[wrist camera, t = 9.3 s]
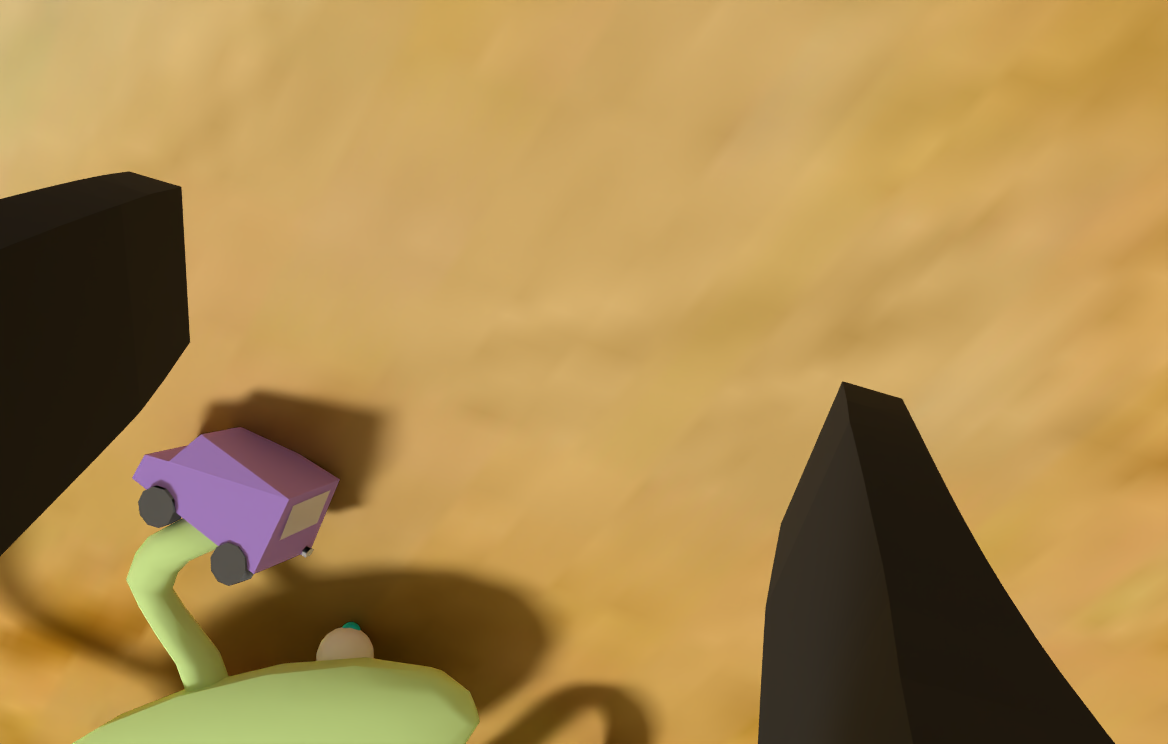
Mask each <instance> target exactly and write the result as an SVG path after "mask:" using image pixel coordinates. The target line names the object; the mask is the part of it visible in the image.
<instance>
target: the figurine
mask: <svg viewBox="0 0 1168 744" xmlns="http://www.w3.org/2000/svg"><path fill="white" fill-rule="evenodd" d="M132 478H133V479H134V480H135V481H137V482H138V483H139V484H140V485H142V486H143V487H144V488H145V489H147V490H145V491H143V493H142V495H141V497H140V499H139V502H138V504H139V511H140V515H141V517H142V518H143V519H144V521H145V522H146V523H147V524H148V525H150V526H154V527H157V528H160V527H163V526H166V525H169V524H171V525H169V526H167V527H166V528H164V529H162V530H160V531H158V532H156V533H155V534H153V535H151V536H149V537H148V538H147V539H146V540H145V542H144V543H143V544H142V545H141V547H140V548H139V549H138V550H137V552H136V553H135V556H134V559H133V562H132V565H131V567H130V570H129V573H128V576H127V579H126V580H127V582H128V584H129V587H130V589H131V591H132V593H133V595H134V597H135V599H136V602H137V604H138V606H139V608H140V609H141V611H142V613H143V614H144V616H145V618H146V619H147V621H148V623H149V624H150V626H151V628H152V629H153V631H154V633H155V634H156V636H157V637H158V639H159V640H160V642H161V643H162V645H163V646H164V648H165V649H166V650H167V652H168V653H169V655H170V656H171V658H172V659H173V661H174V662H175V664H176V666H177V669H178V671H179V674H180V677H181V680H182V682H183V685H184V688H185V689H184V690H181V691H179V692H176V693H174V694H171V695H169V696H166V697H163V698H161V699H158V700H156V701H153V702H151V703H148V704H146V705H143V706H141V707H138V708H136V709H133V710H131V711H128V712H126V713H123V714H121V715H119V716H117V717H116V718H114V719H112V720H111V721H109V722H107V723H106V724H104V725H102V726H100V727H99V728H97V729H95V730H94V731H92V732H90V733H89V734H87V735H86V736H84V737H82V738H81V739H79V740H77V741H76V742H74V743H72V744H466V742H467V741H468V739H469V738H470V736H471V734H472V733H473V731H474V730H475V728H476V727H477V725H478V724H479V722H480V721H479V716H478V711H477V708H476V706H475V703H474V701H473V698H472V696H471V693H470V691H468V690H467V689H466V688H464V687H463V686H462V685H461V684H459V683H458V682H457V681H456V680H454V679H453V678H452V677H450V676H449V675H448V674H446V673H445V672H444V671H442V670H439V669H436V668H433V667H428V666H421V665H414V664H407V663H401V662H394V661H387V660H380V659H374V648H373V646H372V643H371V641H370V639H369V637H368V636H367V635H366V634H365V633H364V632H362V631H361V630H360V627H359V625H358V624H356V623H355V622H348V623H346V624H344V625H343V626H342V627H341V628H336V629H335V630H333V631H331V632H330V633H328V634H327V635H326V636H325V637H324V639H323V640H322V641H321V643H320V646H319V648H318V651H317V653H316V661H310V662H297V663H284V664H279V665H275V666H271V667H267V668H262V669H258V670H254V671H250V672H246V673H241V674H237V675H233V676H228V673H227V670H226V668H225V665H224V662H223V660H222V657H221V654H220V651H219V650H218V649H217V648H216V646H215V645H214V644H213V642H212V641H211V640H210V638H209V637H208V636H207V635H206V633H205V632H204V631H203V629H202V628H201V627H200V625H199V624H198V623H197V622H196V620H195V619H194V618H193V616H192V615H191V614H190V613H189V611H188V610H187V609H186V608H185V606H184V605H183V603H182V602H181V600H180V599H179V597H178V596H177V594H176V592H175V591H174V589H173V585H174V582H175V579H176V576H177V574H178V572H179V571H180V570H181V569H182V568H183V567H184V566H185V565H186V564H187V563H188V561H190V560H192V559H195V558H197V557H199V556H201V555H203V554H206V553H208V552H210V551H212V550H214V549H215V551H214V552H213V554H212V556H211V571H212V573H213V574H214V576H215V577H216V579H217V581H218V582H220V583H223V584H225V585H228V586H230V585H233V584H237V583H240V582H243V581H245V580H248V579H251V578H252V576H253V574H255V573H257V572H260V571H262V570H265V569H267V568H269V567H272V566H274V565H277V564H279V563H281V562H284V561H286V560H288V559H291V558H293V557H296V556H298V555H302V556H304V557H308V556H310V555H311V553H312V552H313V550H314V549H312V548H311V547H312V545H313V543H314V540H315V538H316V535H317V533H318V531H319V528H320V526H321V523H322V521H323V519H324V516H325V514H326V511H327V509H328V507H329V504H330V502H331V499H332V497H333V495H334V492H335V490H336V487H337V485H338V483H339V480H340V479H338V478H337V477H335V476H334V475H332V474H330V473H329V472H327V471H326V470H324V469H322V468H321V467H319V466H318V465H316V464H314V463H313V462H311V461H310V460H308V459H306V458H305V457H303V456H302V455H300V454H298V453H296V452H294V451H292V450H290V449H288V448H285V447H283V446H281V445H279V444H277V443H275V442H273V441H270V440H268V439H266V438H264V437H262V436H260V435H257V434H255V433H253V432H251V431H249V430H247V429H245V428H242V427H237V428H230V429H227V430H222V431H216V432H211V433H206V434H201V435H200V436H198V437H197V438H196V439H195V440H194V441H192V442H191V443H190V444H189V445H188V446H183V447H178V448H174V449H169V450H164V451H160V452H155V453H150V454H146V455H144V457H143V459H142V461H141V463H140V465H139V466H138V468H137V470H136V472H135V474H134V476H133V477H132ZM181 517H182V518H183V519H181ZM180 519H181V520H180ZM178 520H179V521H178ZM176 521H177V522H176ZM174 522H175V523H174ZM172 523H173V524H172Z"/></svg>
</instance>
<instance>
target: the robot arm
mask: <svg viewBox="0 0 1168 744" xmlns="http://www.w3.org/2000/svg"><path fill="white" fill-rule="evenodd" d="M189 343H190V334H189V316H188V298H187V280H186V262H185V244H184V226H183V208H182V190H181V187H180V186H176V185H173V184H170V183H166V182H163V181H159V180H156V179H153V178H149V177H146V176H142V175H139V174H136V173H132V172H122V173H115V174H108V175H102V176H97V177H92V178H87V179H82V180H77V181H73V182H68V183H64V184H60V185H55V186H51V187H47V188H43V189H39V190H35V191H31V192H27V193H23V194H19V195H15V196H11V197H7V198H3V199H0V556H1V555H2V554H3V553H4V552H5V551H6V550H7V549H8V548H9V547H10V546H11V545H12V544H13V543H14V541H15V540H16V539H17V538H18V537H19V536H20V535H21V534H22V533H23V532H24V531H25V530H26V529H27V528H28V527H29V526H30V525H31V524H32V523H33V522H34V521H35V520H36V519H37V518H38V517H39V516H40V515H41V514H42V513H43V512H44V511H45V510H46V509H47V508H48V507H49V506H50V505H51V504H52V503H53V502H54V501H55V500H56V499H57V498H58V497H59V496H60V495H61V494H62V493H63V492H64V490H65V489H66V488H67V487H68V486H69V485H70V484H71V483H72V482H73V481H74V480H75V479H76V478H77V477H78V476H79V475H80V474H81V473H82V472H83V471H84V470H85V469H86V468H87V467H88V466H89V465H90V464H91V463H92V462H93V461H94V460H95V459H96V458H97V457H98V456H99V455H100V454H101V453H102V452H103V450H104V449H105V448H106V447H107V446H108V445H109V444H110V443H111V442H112V441H113V440H114V439H115V438H116V437H117V436H118V435H119V434H120V433H121V432H122V431H123V430H124V429H125V428H126V426H127V425H128V424H129V423H130V422H131V421H132V420H133V419H134V418H135V417H136V416H137V415H138V414H139V412H140V411H141V410H142V409H143V407H144V406H145V405H146V403H147V402H148V401H149V399H150V398H151V397H152V395H153V394H154V393H155V391H156V390H157V389H158V387H159V386H160V385H161V383H162V382H163V381H164V379H165V378H166V376H167V375H168V373H169V372H170V371H171V369H172V368H173V366H174V365H175V363H176V362H177V360H178V359H179V357H180V356H181V354H182V353H183V352H184V350H185V349H186V347H187V346H188V344H189ZM758 744H1115V743H1114V742H1113V740H1112V739H1111V738H1110V737H1109V735H1108V734H1107V733H1106V732H1105V730H1104V729H1103V728H1102V726H1101V725H1100V724H1099V722H1098V721H1097V720H1096V718H1095V717H1094V716H1093V715H1092V713H1091V712H1090V711H1089V709H1088V708H1087V707H1086V705H1085V704H1084V703H1083V701H1082V700H1081V699H1080V697H1079V696H1078V695H1077V694H1076V692H1075V691H1074V690H1073V688H1072V687H1071V686H1070V684H1069V683H1068V682H1067V680H1066V679H1065V678H1064V676H1063V675H1062V674H1061V672H1060V671H1059V670H1058V668H1057V667H1056V665H1055V664H1054V663H1053V661H1052V660H1051V658H1050V657H1049V656H1048V654H1047V653H1046V651H1045V650H1044V648H1043V647H1042V646H1041V644H1040V643H1039V641H1038V640H1037V638H1036V637H1035V635H1034V634H1033V632H1032V631H1031V629H1030V628H1029V626H1028V625H1027V623H1026V621H1025V620H1024V618H1023V617H1022V615H1021V614H1020V612H1019V611H1018V609H1017V608H1016V606H1015V604H1014V603H1013V601H1012V600H1011V598H1010V597H1009V595H1008V594H1007V592H1006V591H1005V589H1004V587H1003V586H1002V584H1001V583H1000V581H999V579H998V578H997V576H996V574H995V573H994V571H993V569H992V568H991V566H990V564H989V563H988V561H987V559H986V558H985V556H984V554H983V553H982V551H981V549H980V547H979V546H978V544H977V542H976V540H975V539H974V537H973V535H972V533H971V531H970V530H969V528H968V526H967V524H966V522H965V521H964V519H963V517H962V515H961V513H960V512H959V510H958V508H957V506H956V504H955V502H954V500H953V498H952V496H951V495H950V493H949V491H948V489H947V487H946V485H945V483H944V481H943V479H942V477H941V475H940V473H939V471H938V469H937V467H936V465H935V463H934V461H933V459H932V457H931V455H930V453H929V451H928V449H927V447H926V445H925V443H924V441H923V439H922V437H921V435H920V433H919V431H918V429H917V427H916V425H915V423H914V421H913V419H912V417H911V415H910V413H909V411H908V409H907V407H906V406H905V404H904V402H903V400H902V399H901V398H897V397H894V396H891V395H887V394H884V393H880V392H877V391H874V390H870V389H867V388H863V387H860V386H857V385H853V384H850V383H846V382H843V381H842V384H841V386H840V388H839V391H838V393H837V395H836V397H835V400H834V402H833V404H832V407H831V409H830V411H829V414H828V416H827V418H826V421H825V423H824V425H823V428H822V430H821V432H820V435H819V437H818V439H817V442H816V444H815V446H814V449H813V451H812V453H811V455H810V458H809V460H808V462H807V465H806V467H805V469H804V472H803V474H802V476H801V479H800V481H799V483H798V486H797V488H796V490H795V493H794V495H793V497H792V500H791V502H790V504H789V507H788V509H787V511H786V514H785V516H784V518H783V520H782V523H781V527H780V532H779V537H778V543H777V548H776V553H775V558H774V563H773V569H772V574H771V580H770V586H769V591H768V597H767V603H766V610H765V626H764V642H763V660H762V677H761V696H760V715H759V734H758Z"/></svg>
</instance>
